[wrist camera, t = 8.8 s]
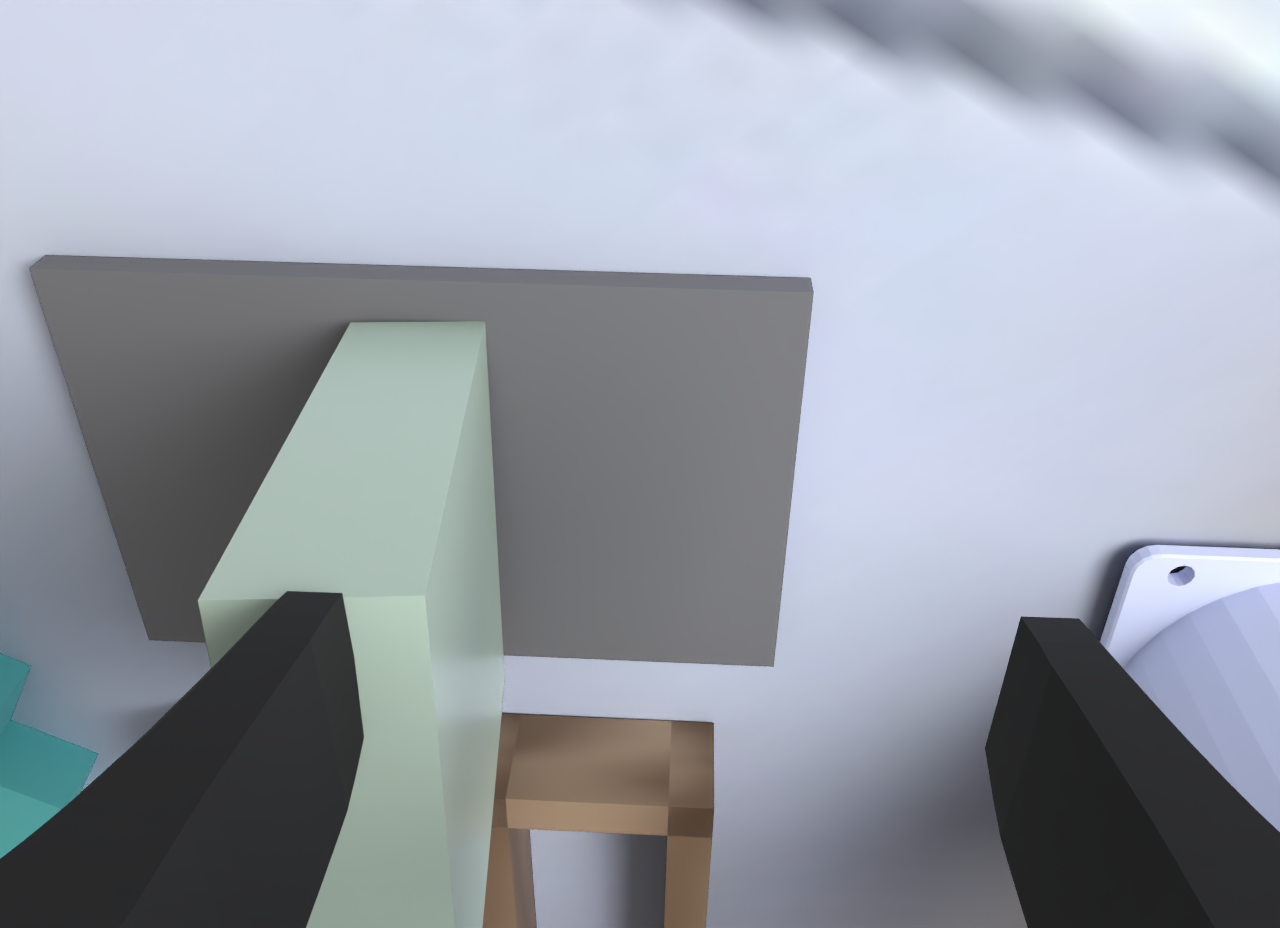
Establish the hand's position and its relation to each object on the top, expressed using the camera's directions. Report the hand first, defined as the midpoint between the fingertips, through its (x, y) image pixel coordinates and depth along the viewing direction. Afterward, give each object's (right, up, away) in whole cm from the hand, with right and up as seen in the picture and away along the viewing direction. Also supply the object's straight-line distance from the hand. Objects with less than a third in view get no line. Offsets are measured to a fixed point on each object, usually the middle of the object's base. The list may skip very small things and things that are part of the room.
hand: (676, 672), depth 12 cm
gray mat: (-4, +2, +10) cm, 11 cm away
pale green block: (-4, +1, +9) cm, 11 cm away
